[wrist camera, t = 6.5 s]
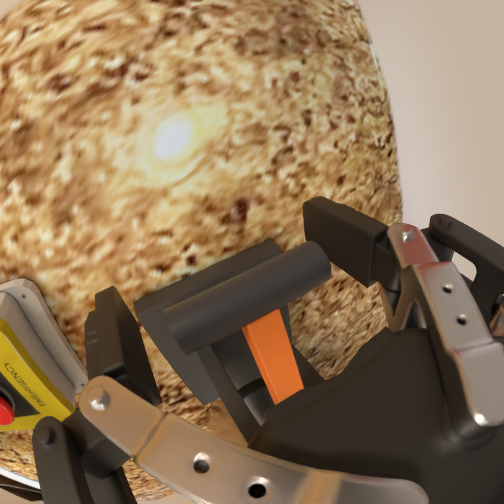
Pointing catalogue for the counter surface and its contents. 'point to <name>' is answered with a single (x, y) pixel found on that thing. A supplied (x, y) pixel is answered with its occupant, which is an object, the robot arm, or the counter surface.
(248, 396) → the kettle
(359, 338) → the counter surface
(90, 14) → the counter surface
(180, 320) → the switch
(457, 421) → the robot arm
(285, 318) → the orange lever mount
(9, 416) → the emergency button
